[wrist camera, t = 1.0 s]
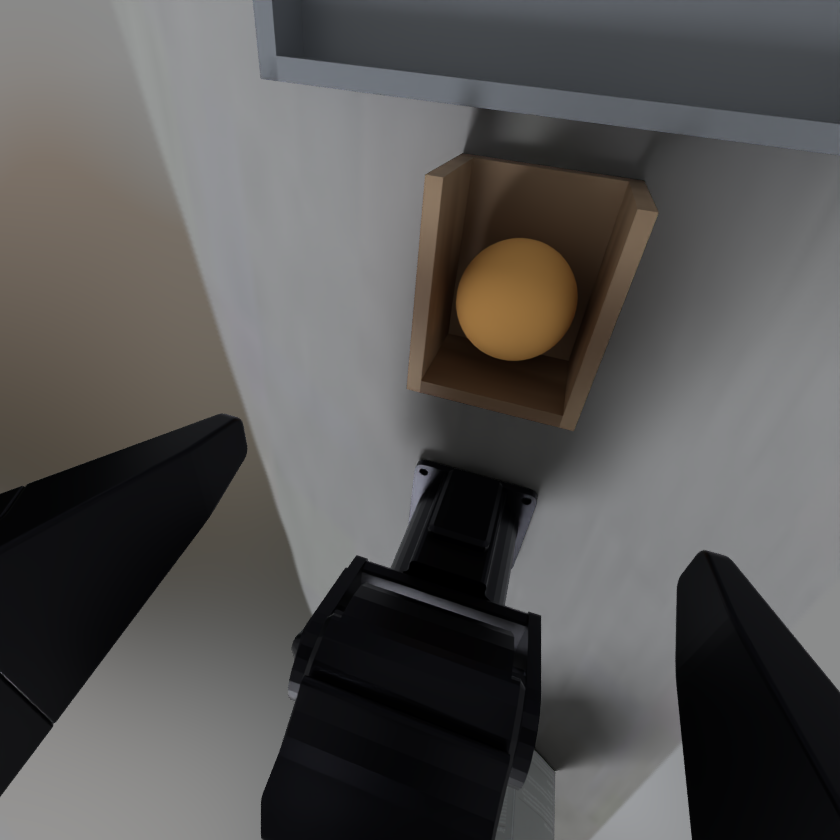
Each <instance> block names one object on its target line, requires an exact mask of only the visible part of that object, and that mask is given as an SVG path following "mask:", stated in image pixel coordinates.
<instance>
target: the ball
mask: <svg viewBox="0 0 840 840" xmlns="http://www.w3.org/2000/svg"><path fill="white" fill-rule="evenodd" d="M577 300H578V292H577V285H576V280H575V277H574V274H573V272H572V270H571V268H570V266H569V264H568V263H567V262H566V260H565V259H564V258H563V257H562V255H561V254H560V253H559V252H557V251H556V250H555V249H554V248H552V247H550V246H549V245H547V244H545V243H543V242H540V241H537V240H533V239H528V238H512V239H506V240H503V241H500V242H497V243H495V244H493V245H491V246H489V247H487V248H486V249H484V250H483V251H481V252H480V253H479V254H478V255H477V256H476V257H475V258H474V259H473V260H472V261H471V262H470V264H469V265H468V266H467V268H466V269H465V271H464V273H463V275H462V277H461V280H460V282H459V286H458V290H457V297H456V309H457V316H458V319H459V323H460V325H461V327H462V330H463V331H464V333H465V335H466V336H467V338H468V339H469V340H470V341H471V343H472V344H473V345H474V346H475V347H477V348H478V349H479V350H481V351H482V352H484V353H485V354H487V355H489V356H492V357H494V358H497V359H501V360H507V361H519V360H526V359H530V358H533V357H536V356H539V355H541V354H543V353H545V352H546V351H548V350H549V349H551V348H552V347H553V346H555V345H556V344H557V343H558V342H559V341H560V340H561V339H562V337H563V336H564V335H565V334H566V332H567V331H568V329H569V327H570V325H571V324H572V321H573V319H574V316H575V312H576V308H577Z"/></svg>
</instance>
